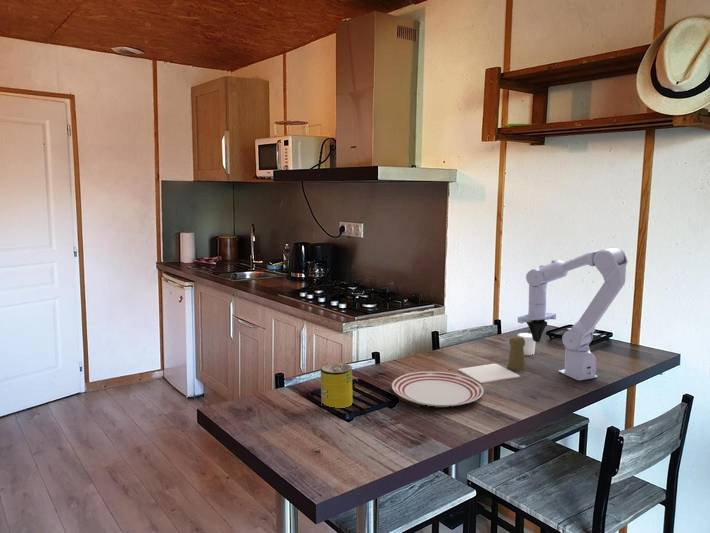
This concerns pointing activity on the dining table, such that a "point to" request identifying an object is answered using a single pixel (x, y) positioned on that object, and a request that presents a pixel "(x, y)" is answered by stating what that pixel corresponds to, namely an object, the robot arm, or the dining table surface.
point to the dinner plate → (437, 388)
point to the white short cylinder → (528, 343)
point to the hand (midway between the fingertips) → (536, 341)
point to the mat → (488, 373)
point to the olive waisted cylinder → (516, 354)
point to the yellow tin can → (336, 385)
